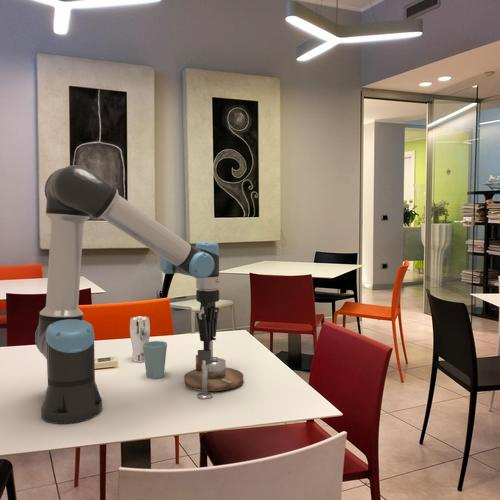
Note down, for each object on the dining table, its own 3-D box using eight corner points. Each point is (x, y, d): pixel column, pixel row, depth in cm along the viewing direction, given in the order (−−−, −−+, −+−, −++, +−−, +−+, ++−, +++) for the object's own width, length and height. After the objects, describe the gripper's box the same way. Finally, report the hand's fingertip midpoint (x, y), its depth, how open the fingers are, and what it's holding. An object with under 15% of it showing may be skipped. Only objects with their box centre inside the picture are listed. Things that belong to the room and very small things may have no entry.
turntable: (207, 395, 145) (206, 373, 145) (172, 379, 159) (172, 359, 159) (255, 381, 157) (255, 361, 157) (219, 368, 171) (219, 349, 170)
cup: (170, 377, 163) (169, 345, 163) (146, 380, 160) (145, 347, 160) (164, 371, 170) (163, 339, 170) (141, 374, 167) (140, 342, 167)
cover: (211, 380, 153) (211, 362, 153) (198, 375, 158) (198, 357, 158) (230, 376, 158) (230, 358, 157) (216, 370, 163) (216, 353, 163)
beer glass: (152, 361, 181) (151, 319, 180) (132, 363, 179) (131, 320, 178) (148, 356, 188) (147, 315, 187) (129, 358, 185) (128, 317, 184)
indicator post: (210, 399, 144) (210, 352, 143) (195, 399, 144) (194, 352, 143) (214, 394, 148) (213, 348, 147) (199, 393, 149) (198, 348, 148)
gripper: (210, 292, 161) (210, 367, 162) (226, 287, 173) (226, 356, 175) (188, 291, 163) (189, 364, 165) (205, 286, 176) (206, 354, 177)
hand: (208, 360), depth 170 cm, fingers closed
